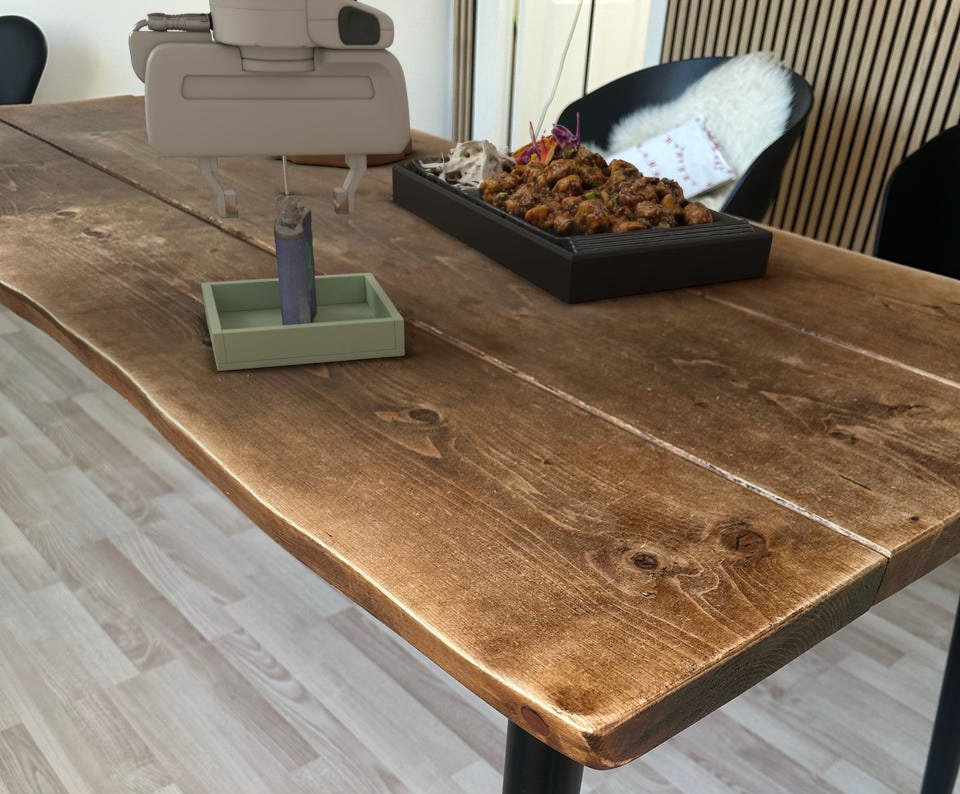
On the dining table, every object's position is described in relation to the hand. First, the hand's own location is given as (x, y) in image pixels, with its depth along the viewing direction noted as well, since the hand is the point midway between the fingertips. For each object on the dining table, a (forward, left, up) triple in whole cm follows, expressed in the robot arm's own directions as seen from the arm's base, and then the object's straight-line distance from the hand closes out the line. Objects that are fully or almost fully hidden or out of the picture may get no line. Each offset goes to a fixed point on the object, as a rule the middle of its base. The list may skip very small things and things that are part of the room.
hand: (287, 214), depth 79 cm
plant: (+18, +79, -10) cm, 82 cm away
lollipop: (+6, +54, -10) cm, 55 cm away
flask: (0, +1, -10) cm, 10 cm away
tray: (0, 0, -10) cm, 10 cm away
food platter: (+35, +27, -10) cm, 46 cm away
